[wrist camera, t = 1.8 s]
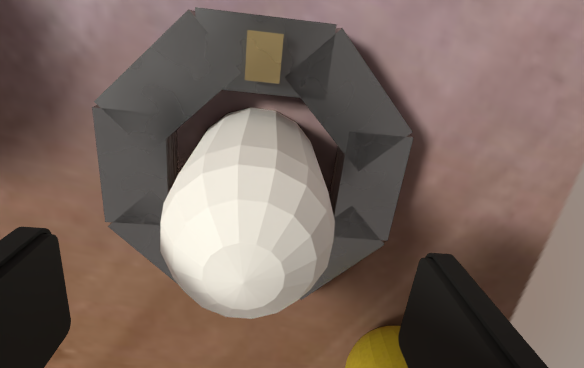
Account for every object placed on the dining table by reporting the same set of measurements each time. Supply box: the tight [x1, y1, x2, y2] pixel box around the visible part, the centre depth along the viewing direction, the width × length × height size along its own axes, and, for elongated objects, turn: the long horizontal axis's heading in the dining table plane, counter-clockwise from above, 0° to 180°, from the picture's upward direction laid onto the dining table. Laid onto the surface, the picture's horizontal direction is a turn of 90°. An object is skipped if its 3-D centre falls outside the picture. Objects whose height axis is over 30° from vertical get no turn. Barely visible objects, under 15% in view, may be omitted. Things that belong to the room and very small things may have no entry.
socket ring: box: [92, 7, 413, 300], centre depth 15 cm, size 12×12×2 cm
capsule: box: [160, 107, 335, 319], centre depth 12 cm, size 5×5×8 cm
